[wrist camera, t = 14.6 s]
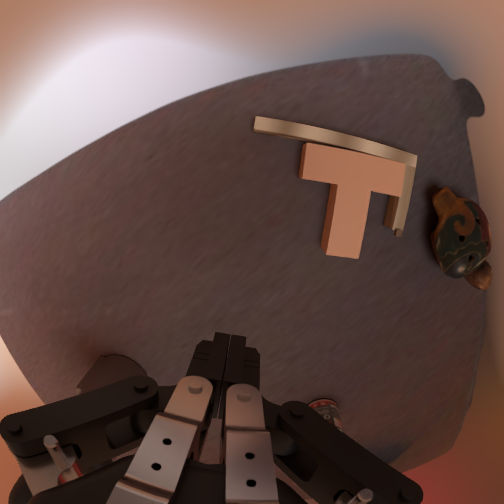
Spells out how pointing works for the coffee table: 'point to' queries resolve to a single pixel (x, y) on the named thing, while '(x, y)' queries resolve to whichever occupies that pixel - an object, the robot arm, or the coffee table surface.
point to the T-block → (348, 191)
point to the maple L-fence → (343, 141)
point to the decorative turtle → (461, 239)
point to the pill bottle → (328, 411)
